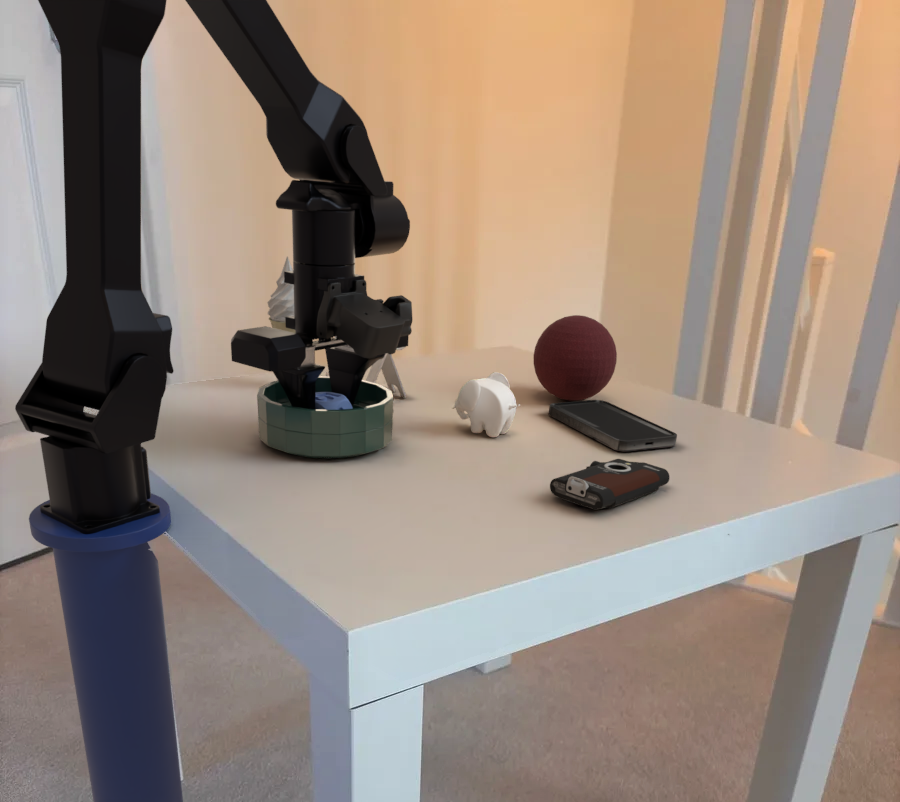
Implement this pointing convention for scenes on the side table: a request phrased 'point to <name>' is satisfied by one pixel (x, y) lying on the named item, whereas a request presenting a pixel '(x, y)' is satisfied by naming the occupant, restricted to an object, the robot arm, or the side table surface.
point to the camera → (609, 483)
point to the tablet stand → (386, 373)
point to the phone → (612, 425)
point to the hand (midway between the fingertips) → (325, 426)
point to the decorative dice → (331, 401)
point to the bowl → (326, 422)
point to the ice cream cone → (282, 301)
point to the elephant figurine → (487, 404)
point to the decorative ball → (575, 358)
